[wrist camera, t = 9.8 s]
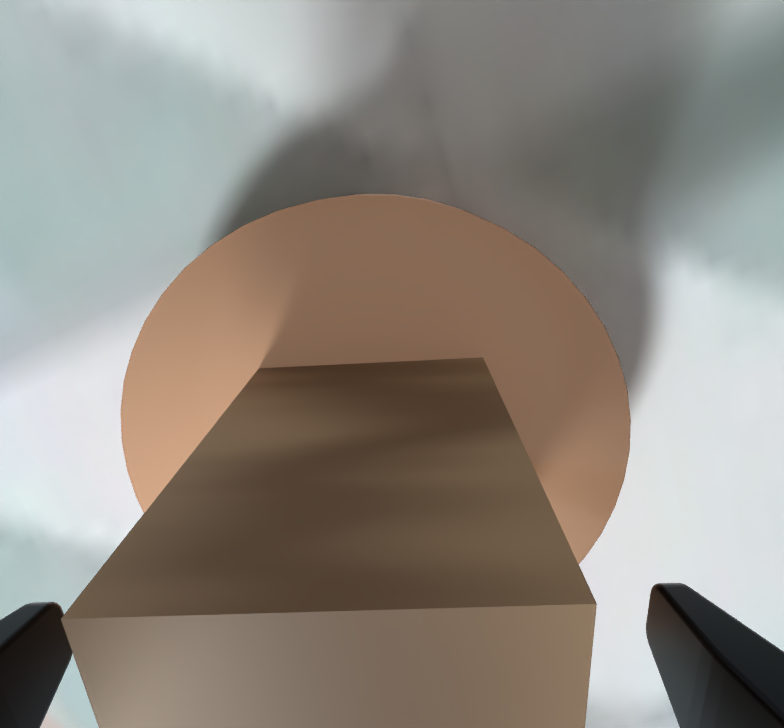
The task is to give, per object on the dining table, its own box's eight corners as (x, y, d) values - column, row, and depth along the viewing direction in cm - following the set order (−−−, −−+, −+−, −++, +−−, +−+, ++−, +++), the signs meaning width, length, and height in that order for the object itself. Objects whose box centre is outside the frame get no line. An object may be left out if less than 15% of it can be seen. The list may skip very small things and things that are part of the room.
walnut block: (483, 357, 11) (597, 604, 5) (482, 543, 13) (566, 922, 6) (259, 368, 11) (61, 618, 5) (287, 550, 13) (168, 924, 6)
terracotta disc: (602, 179, 13) (659, 177, 10) (573, 567, 17) (608, 645, 14) (133, 207, 13) (60, 212, 10) (213, 578, 17) (175, 656, 14)
